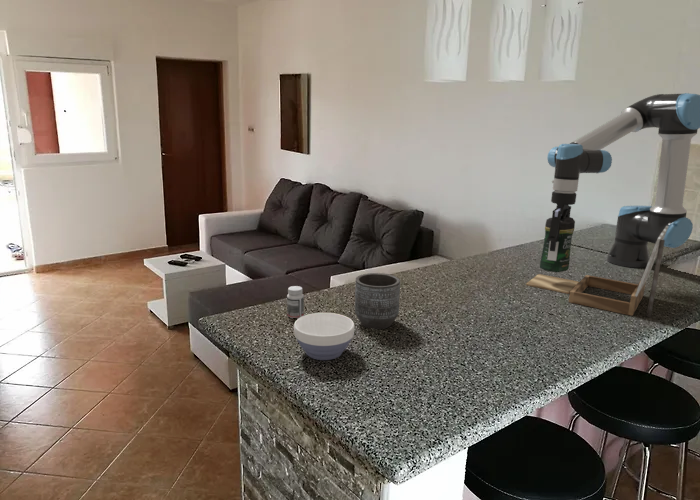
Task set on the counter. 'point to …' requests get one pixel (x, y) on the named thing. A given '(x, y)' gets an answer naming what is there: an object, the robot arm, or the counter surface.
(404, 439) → the counter surface
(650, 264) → the cold frame
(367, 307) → the planter
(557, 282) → the mat
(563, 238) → the coffee jar
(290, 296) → the pill bottle
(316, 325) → the bowl
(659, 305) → the counter surface
